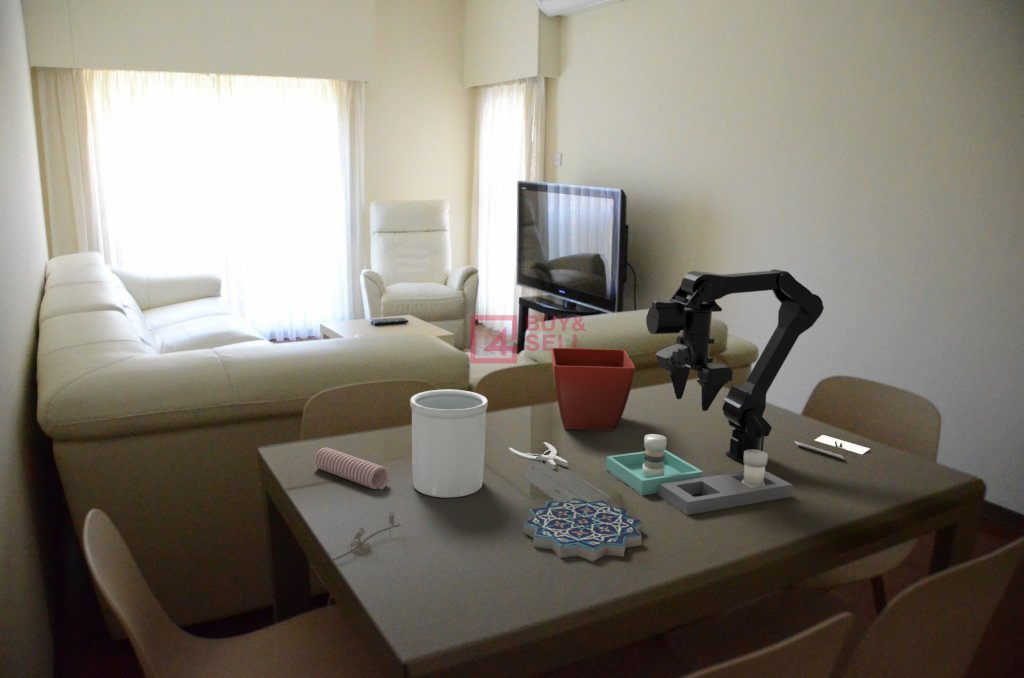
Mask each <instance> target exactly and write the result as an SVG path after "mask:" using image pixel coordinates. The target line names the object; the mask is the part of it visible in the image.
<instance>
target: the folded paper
mask: <svg viewBox="0 0 1024 678" xmlns="http://www.w3.org/2000/svg"><path fill="white" fill-rule="evenodd" d="M814 441H816V442H819V443H822V444H825V445H829V446H832V447H834V448H840V449H842V450H845V451H850V452H854V453H857V454H859V455H863V454H865V453H867V452H868V451H869V450H870V449H871V448H869V447H867V446H866V447H865V446H862V445H859V444H855V443H851V442H849V441H846V440H842V439H840V438H839V439H838V438H836V437H832V436H828V435H825V434H821V435H820V436H818V437H817V438H816V439H815V438H814ZM794 442H795V444H796V445H797V446H799V447H802V448H805V449H808V450H812V451H815V452H818V453H821V454H825V455H828V456H832V457H835V458H838V459H841V460H844V461H845V460H846V458H844V456H843V455H842V454H837V453H834V452H833V451H832V452H831V451H828V450H825V449H821V448H818V447H816V446H812V445H808V444H806V443H803V442H799V441H796V440H794Z"/></svg>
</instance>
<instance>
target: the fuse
mask: <svg viewBox="0 0 1024 678" xmlns="http://www.w3.org/2000/svg"><path fill="white" fill-rule="evenodd" d="M768 457H769V454H768V453H767V452H766V451H764V450H763V451H760V450H753V449H751V450H745V451H744V459H743V463H742V464H744V465H743V466H744V468H743V469H744V470H743V471H744V478H743V480H742V483H744V484H746V485H747V486H749V487H751V488H752V487H758V486H765V483H764V473H765V471H766V467H767V465H768Z"/></svg>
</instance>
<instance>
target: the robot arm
mask: <svg viewBox="0 0 1024 678" xmlns="http://www.w3.org/2000/svg"><path fill="white" fill-rule="evenodd" d="M762 291H763V292H764V291H772V293H773V295H774V296H775V298H776V299H777V301H779V303H780V305H779V309H778V311H777V312H778V316H777V317H778V319H777V326H776V328H775V329H774V331H773V332H772V335H771V337H770V338H769V340H768V342H767V343H766V345H765V347H764V349H763V350H762V353H761V354H760V356H759V357H758V359H757V361H756V363H755V365H754V367H753V368H752V370H751V372H750V374H749V375H748V377H747V379H746V380H745V382H744V383H743V384H741V385H739V387H738V386H737V385H734V384H733V385H732V386H730V389H729V391H728V394H727V395H726V397H724V398H723V399H722V402H724V403H723V406H722V411H723V415H724V417H725V418H726V419H727V422H728V425H729V426H730V427H732V428H733V429H732V432H731V437H730V440H729V441H730V442H729V451H725V455H727V456H728V457H730V458H732V459H734V460H736V461H738V462H740V463H741V464H744V463H743V459H744V451H745V450H751V449H753V450H760V451H764V443H765V437H769V435H770V434H771V431H772V429H773V428H772V426H771V424H770V423H769V422H768V421H767V420H766V419H765V418H764V417H763V416H764V413H765V411H766V408H767V407H766V406H767V394H768V391H769V390H770V387H772V385H773V383H774V381H775V378H776V377H777V376H778V374H779V371H780V370H781V368H782V367H783V365H784V363H785V361H786V359H787V358H788V356H789V354H790V352H791V351H792V349H793V347H794V345H795V344H796V342H797V340H798V339H799V337H800V336H801V335H802V334H803V333H805V332H806V331H808V330H809V329H810V328H812V327H813V326H814V325H815V323H816V322H817V321H818V319H819V318H820V317H821V315H822V314H823V311H824V308H825V307H824V303H823V300H822V298H821V297H820V296H819V295H817V294H815V293H813V292H812V291H811V290H810V289H808V287H805V286H804V285H803V284H802V283H800V282H799V281H798V280H796V278H795V277H794V276H793V275H792V274H791V273H790V272H789V271H786V270H781V269H776V268H774V269H772V270H771V269H770V270H765V271H763V270H762V271H761V270H760V271H750V272H739V273H738V272H737V273H727V274H722V273H721V274H720V273H714V272H707V271H700V270H699V271H697V270H692V271H688V272H687V273H686V274H685V275H684V276H683V278H682V280H681V283H680V285H679V286H678V287H677V289H676V290H675V292H674V293H673V295H672V296H671V297H670V299H669V301H664V300H662V301H660V300H652V301H651V307H649V309H648V311H647V314H646V318H645V322H646V329H647V331H648V332H649V334H650V335H665V334H666V335H667V334H671V335H672V334H679V333H680V332H681V333H682V334H681V335H677V337H676V341H675V342H676V343H675V344H672V345H669V346H667V347H665V348H662V349H661V350H659V351H657V352H655V357H656V360H657V363H658V368H659V369H664V371H666V372H667V373H668V374H669V376H670V379H671V383H672V387H673V391H674V394H675V398H676V399H677V400H682V399H683V395H684V393H685V390H686V385H687V383H688V379H689V374H690V371H691V370H693V371H696V372H697V373H696V374H697V377H698V379H696V382H697V383H698V384H699V386H700V387H701V410H702V411H703V412H707V411H709V409H710V407H711V406H712V403H713V402H714V400H715V398H716V397H717V396H718V394H719V392H720V391H721V389H723V387H724V385H725V384H726V385H727V384H728V383H729V382H732V381H733V378H734V370H733V369H732V367H731V366H728V365H725V364H722V363H713V361H714V357H712V356H710V345H711V344H715V338H713V337H711V332H712V331H711V328H712V313H714V312H722V311H723V307H721V306H720V305H719V304H718V303H717V302H716V300H720V299H722V298H724V297H727V295H732V294H742V293H755V292H762Z"/></svg>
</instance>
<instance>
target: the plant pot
mask: <svg viewBox="0 0 1024 678" xmlns="http://www.w3.org/2000/svg"><path fill="white" fill-rule="evenodd" d="M550 351H551V353H550V354H551V363H552V371H553V377H554V378H553V379H554V385H555V392H556V398H557V405H558V409H559V413H560V414H559V415H560V418H561V422H562V426H563V428H564V429H566V430H583V431H584V430H587V431H588V430H589V431H592V430H593V431H615V430H617V428H618V426H619V424H620V421H621V419H622V417H623V414H624V412H625V409H626V405H627V403H628V400H629V399H628V398H629V396H630V392H631V389H632V385H633V380H634V377H635V376H634V375H635V370H636V366H635V365H634V362H633V361H632V360H631V358H630V356H629V354H628V353H627V351H626V350H624V349H612V348H611V349H610V348H609V349H604V348H574V347H573V348H572V347H571V348H569V347H566V348H565V347H554V348H551V349H550Z"/></svg>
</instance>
